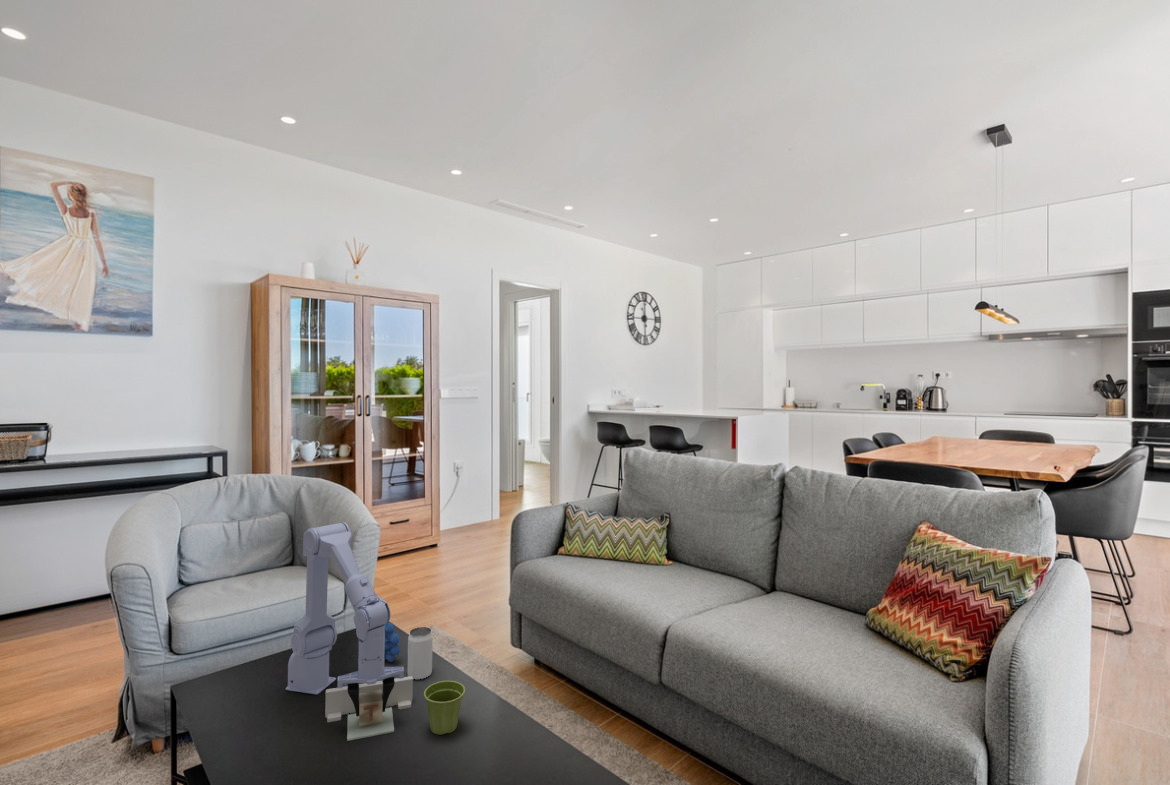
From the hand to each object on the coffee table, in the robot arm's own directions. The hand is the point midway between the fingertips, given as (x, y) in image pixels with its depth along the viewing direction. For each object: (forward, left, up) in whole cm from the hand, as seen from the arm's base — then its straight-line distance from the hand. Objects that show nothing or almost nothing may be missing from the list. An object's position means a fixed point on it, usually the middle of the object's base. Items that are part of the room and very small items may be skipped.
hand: (370, 711), depth 137 cm
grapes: (-14, +28, -3) cm, 31 cm away
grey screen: (-4, +6, -3) cm, 8 cm away
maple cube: (0, 0, -2) cm, 2 cm away
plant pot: (+17, +3, -3) cm, 18 cm away
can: (0, +24, -3) cm, 24 cm away
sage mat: (0, 0, -3) cm, 3 cm away
